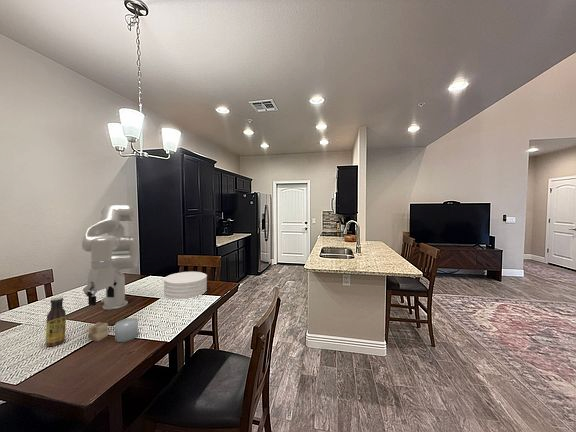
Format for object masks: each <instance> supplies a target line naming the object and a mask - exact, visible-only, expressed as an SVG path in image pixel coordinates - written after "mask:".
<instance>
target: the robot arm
mask: <svg viewBox="0 0 576 432" xmlns="http://www.w3.org/2000/svg"><path fill="white" fill-rule="evenodd" d="M136 218H137V211H136V209H135V207H133V206H132V205H130V204H107V205H105V206H104V207H103V208H102V209H101V216H100V220H99V221H98V222H96V223H94V224H93V225H90V227H88V228H87V229H86V230H85V232H84V235H83V237H82V241H81V247H82V249H83V251H85V252H88V253H89V252H90V255H91V257H90V261H91V262H90V263H91V264H90V269H89V271H88V274H87V283H86V286H85V287H84V288H83V289H82V291H83V293H84V295H85V296H86V297H88V299H87V301H88V306H96V305H97V296H96V294H97V292H99V291H102V290H105V297H102V299H101V300H100V302H101V303H104V304H102V309H104V310H108V311H109V310H110V311H111V310H116V309H120V308H123V307H124V308H125V307H126V306H127V305H128V304H129V302H128V300H126V293H125V291H126V287H125V286H126V284H125V282H126V281H125V280H126V277H125V274H124V272H123V271H122V270H130V269H136V268H137V267H138V265H139V240H138V237H137V236H135V235H125V226H124V225H123V224H122V223H121V222H133V221H135V220H136ZM104 234H107V235H104ZM113 252H115V253H113ZM116 252H124V253H116ZM125 252H128V253H125Z"/></svg>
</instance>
